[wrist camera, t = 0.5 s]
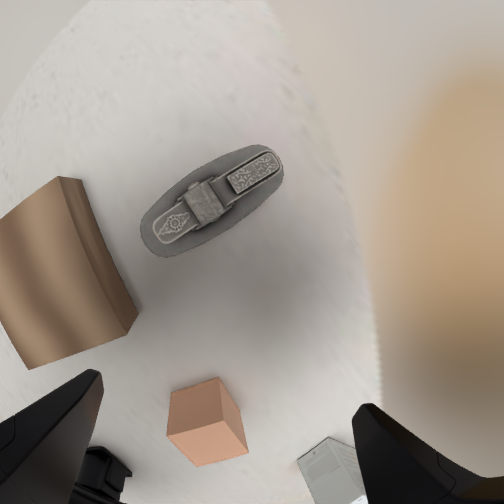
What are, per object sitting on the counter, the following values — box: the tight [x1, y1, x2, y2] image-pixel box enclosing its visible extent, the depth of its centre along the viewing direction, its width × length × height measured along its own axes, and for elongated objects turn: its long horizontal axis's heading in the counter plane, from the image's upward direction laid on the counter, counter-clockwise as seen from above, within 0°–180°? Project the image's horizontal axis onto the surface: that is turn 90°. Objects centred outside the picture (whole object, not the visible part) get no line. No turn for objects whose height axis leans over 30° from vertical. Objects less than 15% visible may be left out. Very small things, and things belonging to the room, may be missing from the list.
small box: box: [297, 438, 368, 504], centre depth 23 cm, size 8×6×10 cm
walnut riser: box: [0, 176, 139, 370], centre depth 17 cm, size 12×12×4 cm
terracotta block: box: [166, 377, 249, 467], centre depth 21 cm, size 5×5×6 cm
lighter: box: [140, 145, 284, 258], centre depth 16 cm, size 8×3×10 cm, turn 122°
